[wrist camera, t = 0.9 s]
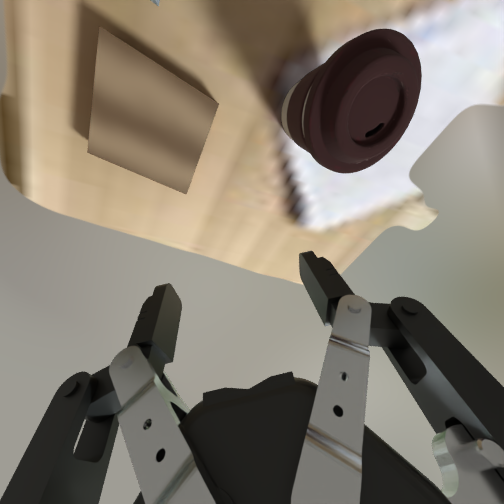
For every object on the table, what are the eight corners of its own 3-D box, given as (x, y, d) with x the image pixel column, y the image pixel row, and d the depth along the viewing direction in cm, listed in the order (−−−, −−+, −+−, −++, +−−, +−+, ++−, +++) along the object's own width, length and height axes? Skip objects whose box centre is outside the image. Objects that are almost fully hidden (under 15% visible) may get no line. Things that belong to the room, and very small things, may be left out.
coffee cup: (274, 61, 24) (338, 10, 12) (348, 67, 25) (470, 27, 13) (268, 151, 30) (306, 178, 18) (328, 152, 31) (401, 177, 19)
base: (112, 36, 21) (99, 25, 18) (218, 104, 25) (219, 103, 23) (98, 148, 26) (87, 152, 24) (188, 188, 31) (186, 194, 28)
